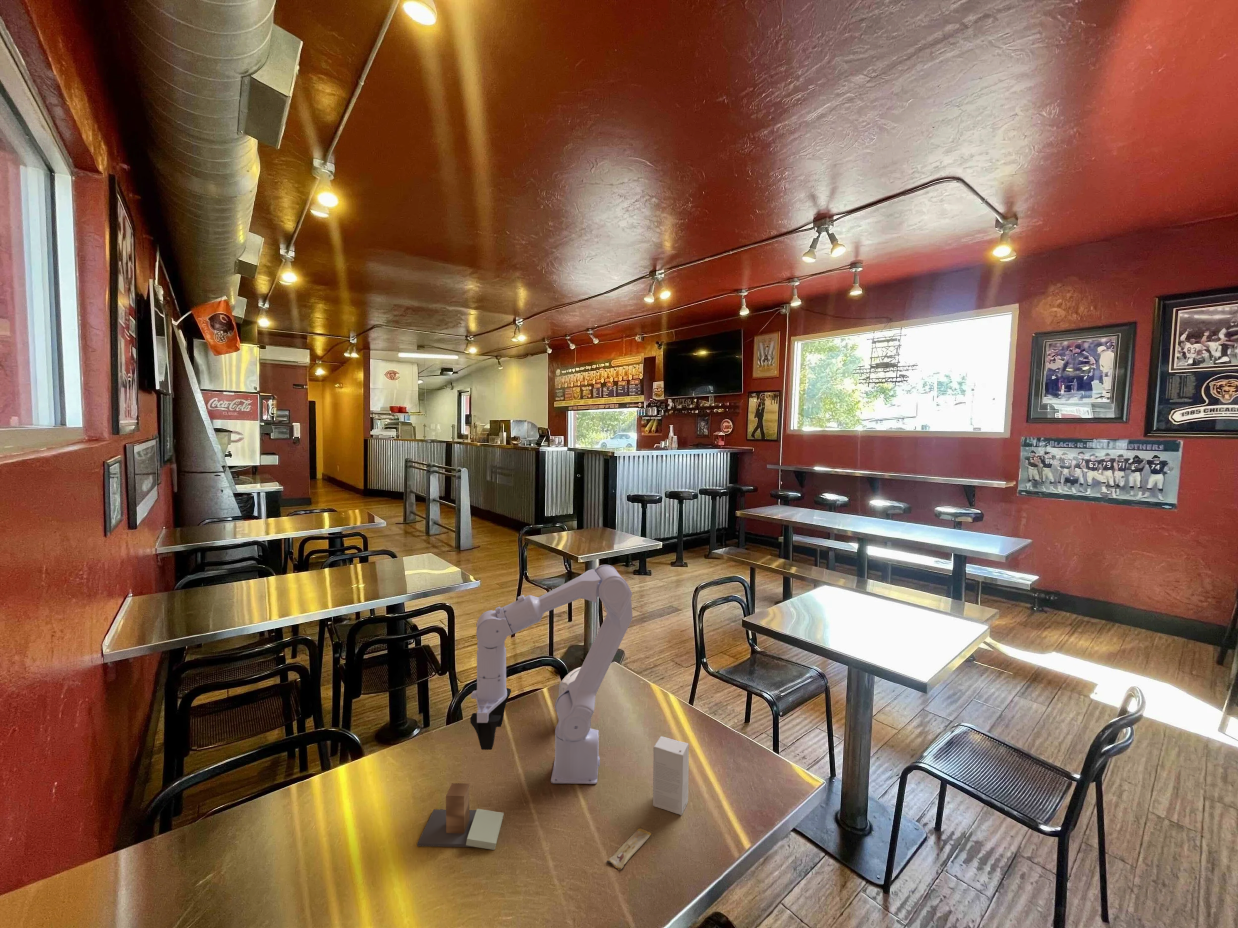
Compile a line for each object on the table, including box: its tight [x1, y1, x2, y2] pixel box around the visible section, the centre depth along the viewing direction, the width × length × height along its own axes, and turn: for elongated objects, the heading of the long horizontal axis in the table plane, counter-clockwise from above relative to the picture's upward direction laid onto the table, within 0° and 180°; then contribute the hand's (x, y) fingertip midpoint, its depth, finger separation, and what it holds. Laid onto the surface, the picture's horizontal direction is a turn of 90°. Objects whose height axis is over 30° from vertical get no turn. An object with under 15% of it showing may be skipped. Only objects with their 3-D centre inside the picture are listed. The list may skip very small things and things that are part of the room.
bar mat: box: [416, 809, 477, 848], centre depth 93 cm, size 10×8×1 cm
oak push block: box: [445, 782, 470, 833], centre depth 93 cm, size 3×3×7 cm
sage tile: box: [466, 808, 505, 851], centre depth 92 cm, size 1×7×5 cm
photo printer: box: [558, 666, 582, 696], centre depth 129 cm, size 10×4×12 cm, turn 149°
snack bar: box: [606, 827, 652, 871], centre depth 89 cm, size 10×2×3 cm
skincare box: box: [652, 735, 690, 816], centre depth 100 cm, size 6×4×12 cm
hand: (491, 736), depth 105 cm, fingers open, 7 cm apart
